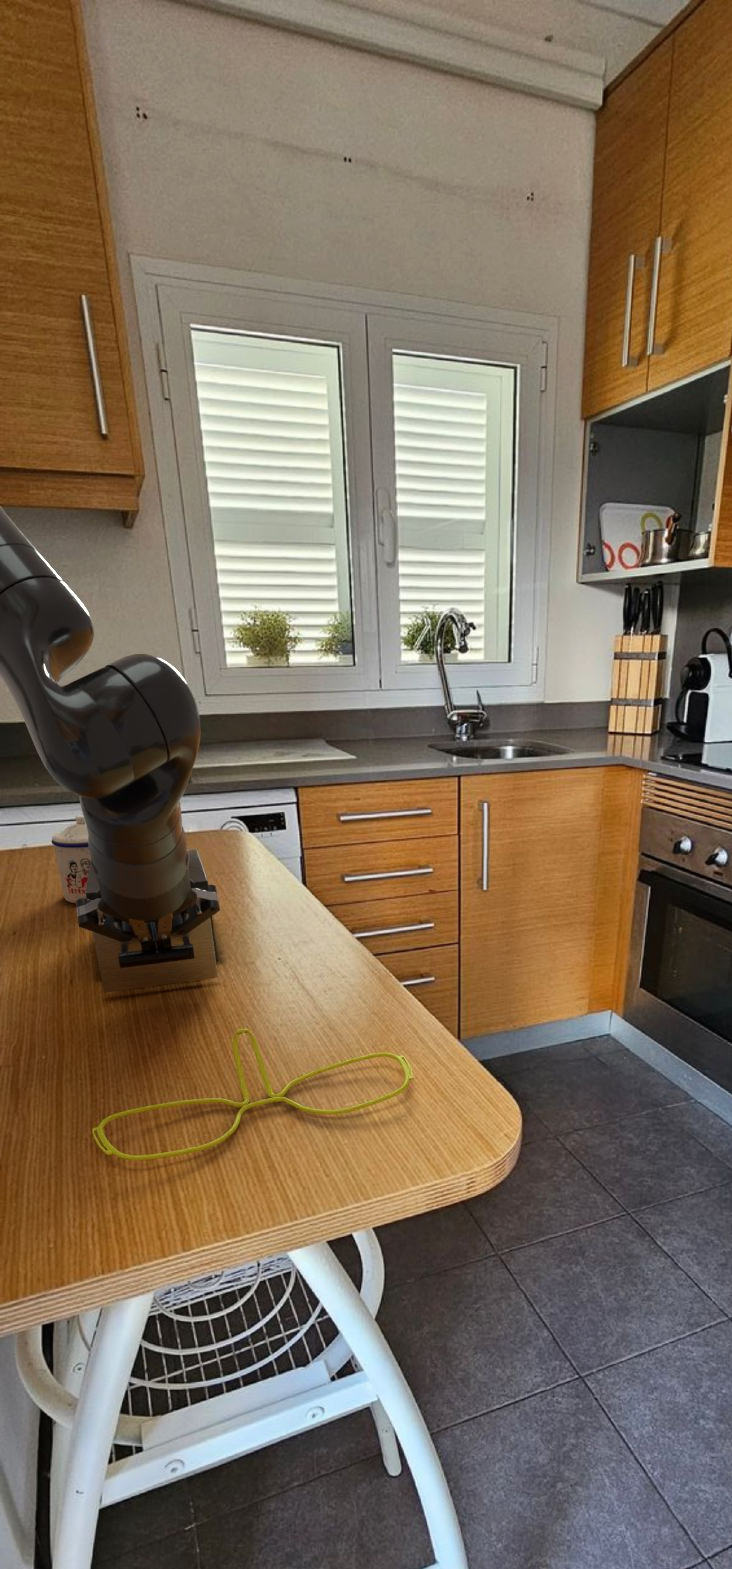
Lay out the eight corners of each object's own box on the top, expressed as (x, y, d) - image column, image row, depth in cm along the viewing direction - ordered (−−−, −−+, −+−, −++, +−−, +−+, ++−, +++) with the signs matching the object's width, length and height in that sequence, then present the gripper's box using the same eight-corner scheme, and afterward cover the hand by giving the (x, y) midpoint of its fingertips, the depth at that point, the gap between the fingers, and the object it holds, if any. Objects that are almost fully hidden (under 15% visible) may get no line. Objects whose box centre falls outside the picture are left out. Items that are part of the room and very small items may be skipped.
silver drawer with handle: (222, 993, 86) (213, 921, 83) (102, 1010, 82) (89, 935, 79) (206, 935, 102) (198, 873, 99) (106, 947, 99) (94, 883, 96)
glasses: (101, 1183, 58) (89, 1123, 56) (89, 1115, 66) (78, 1061, 64) (430, 1096, 68) (429, 1044, 66) (384, 1047, 76) (382, 999, 74)
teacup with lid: (62, 908, 116) (46, 824, 111) (62, 891, 123) (47, 812, 119) (153, 897, 120) (141, 816, 116) (148, 881, 128) (136, 805, 123)
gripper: (215, 812, 73) (217, 906, 88) (50, 826, 69) (82, 922, 84) (229, 887, 71) (229, 971, 86) (58, 906, 66) (90, 990, 82)
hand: (156, 946), depth 85 cm, fingers closed
